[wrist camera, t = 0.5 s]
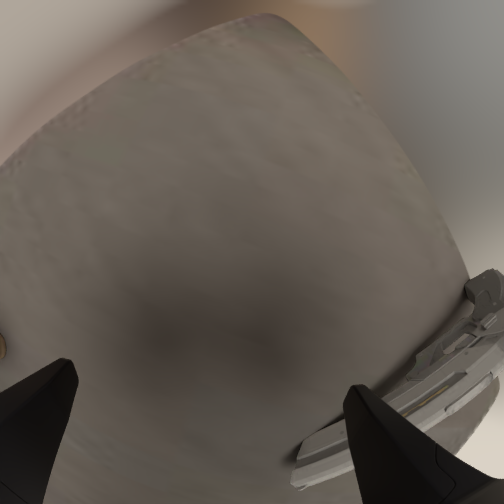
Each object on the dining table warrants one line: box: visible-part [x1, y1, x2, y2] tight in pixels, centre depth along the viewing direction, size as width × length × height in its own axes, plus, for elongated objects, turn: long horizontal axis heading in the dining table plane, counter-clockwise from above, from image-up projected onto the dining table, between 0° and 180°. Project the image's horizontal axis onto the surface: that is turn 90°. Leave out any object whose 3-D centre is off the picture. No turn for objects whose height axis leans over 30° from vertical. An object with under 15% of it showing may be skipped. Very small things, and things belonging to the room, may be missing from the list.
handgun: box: [290, 269, 504, 491], centre depth 23 cm, size 31×3×15 cm, turn 124°
